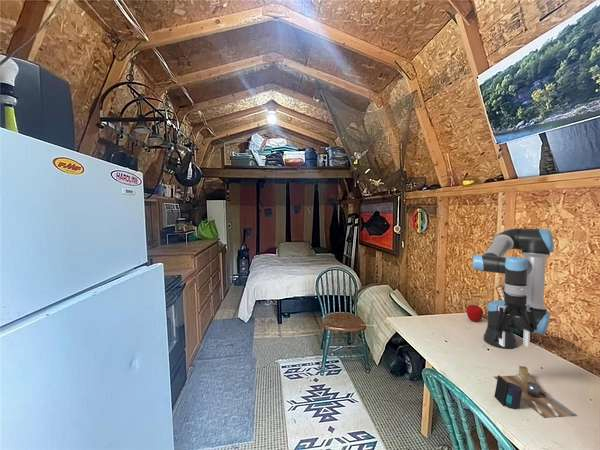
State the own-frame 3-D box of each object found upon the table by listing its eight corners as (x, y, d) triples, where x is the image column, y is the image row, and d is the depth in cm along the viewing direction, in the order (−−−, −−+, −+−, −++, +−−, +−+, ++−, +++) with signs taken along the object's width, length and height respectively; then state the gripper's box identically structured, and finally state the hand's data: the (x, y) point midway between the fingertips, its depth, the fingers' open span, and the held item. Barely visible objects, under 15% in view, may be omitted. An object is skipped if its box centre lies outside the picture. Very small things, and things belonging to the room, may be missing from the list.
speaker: (497, 408, 109) (500, 382, 108) (493, 399, 114) (496, 374, 113) (521, 415, 106) (525, 388, 105) (516, 406, 111) (520, 380, 110)
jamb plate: (518, 377, 128) (518, 373, 128) (575, 419, 103) (575, 414, 103) (493, 379, 127) (493, 375, 127) (544, 421, 102) (544, 416, 102)
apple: (469, 323, 186) (469, 307, 186) (463, 317, 196) (463, 302, 195) (486, 324, 185) (486, 307, 184) (479, 318, 194) (479, 302, 194)
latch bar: (541, 398, 112) (542, 387, 111) (529, 396, 113) (529, 385, 113) (527, 377, 126) (528, 367, 125) (516, 375, 127) (517, 365, 127)
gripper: (493, 296, 117) (492, 349, 118) (549, 296, 116) (548, 349, 117) (483, 291, 125) (482, 341, 126) (535, 291, 123) (534, 341, 125)
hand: (514, 345), depth 122 cm, fingers open, 9 cm apart
